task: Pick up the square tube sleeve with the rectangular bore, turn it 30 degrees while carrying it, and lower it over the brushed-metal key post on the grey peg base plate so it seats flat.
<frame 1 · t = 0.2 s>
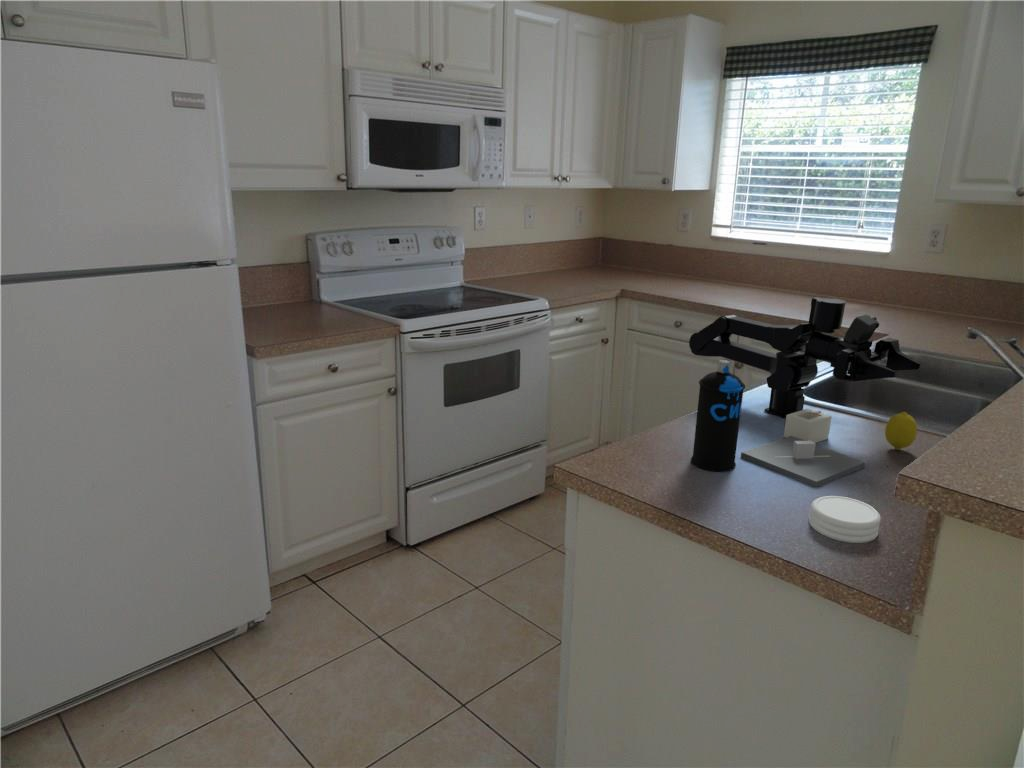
hand: (907, 370, 142), 16 cm above the worktop, tool horizontal, fingers open, 9 cm apart
white round flat disc: (842, 529, 114), on the worktop
lemon: (897, 450, 146), on the worktop
square tube sleeve: (805, 438, 151), on the worktop
grey peg base plate: (801, 461, 139), on the worktop
aerosol can: (712, 464, 138), on the worktop
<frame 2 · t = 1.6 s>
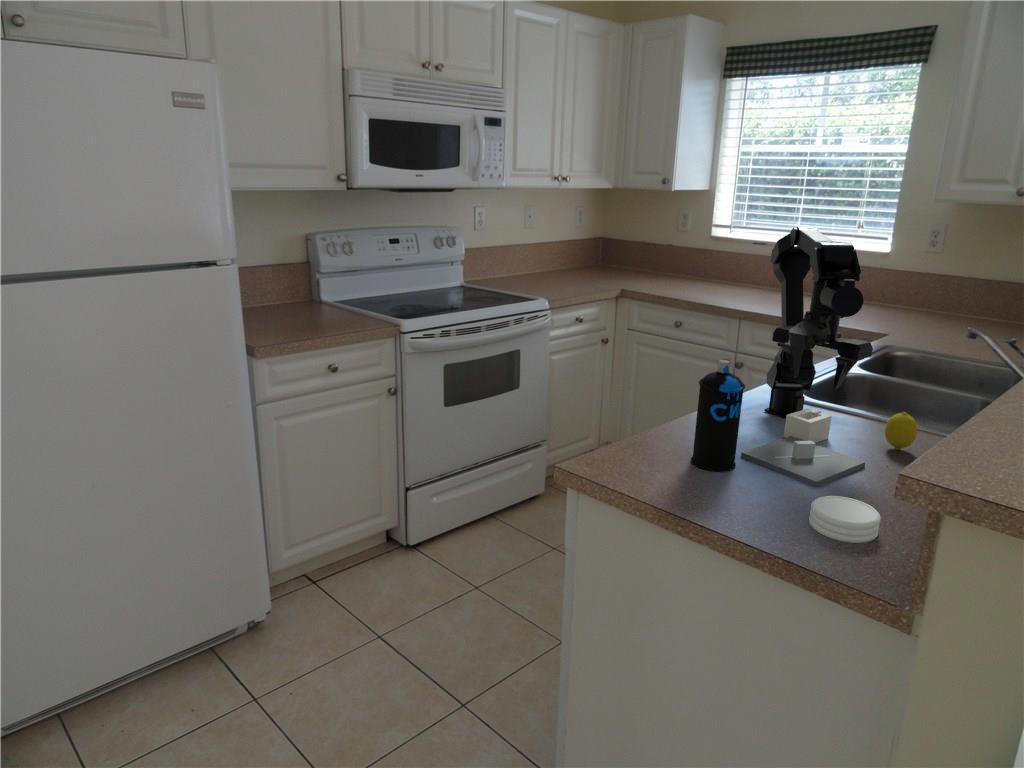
hand: (814, 383, 148), 12 cm above the worktop, tool pointing down, fingers open, 9 cm apart
nothing on the worktop moved.
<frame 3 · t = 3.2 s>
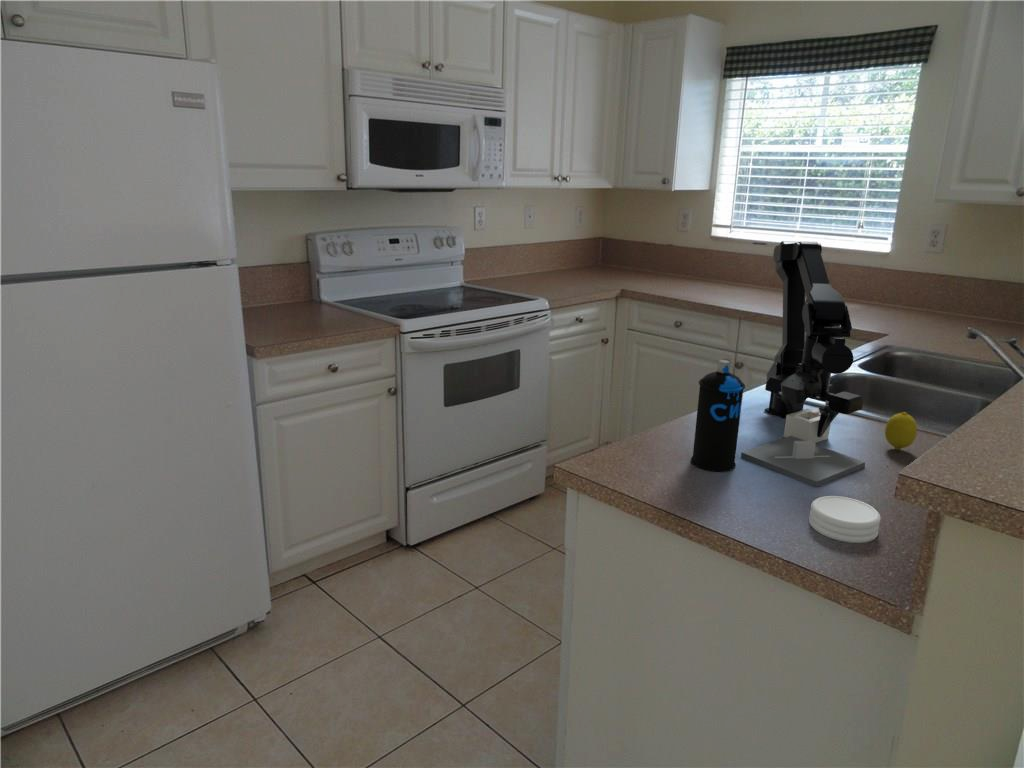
hand: (806, 432, 151), 1 cm above the worktop, tool pointing down, fingers closed on square tube sleeve, 5 cm apart
square tube sleeve: (805, 438, 151), on the worktop, touching gripper
everything else where it was.
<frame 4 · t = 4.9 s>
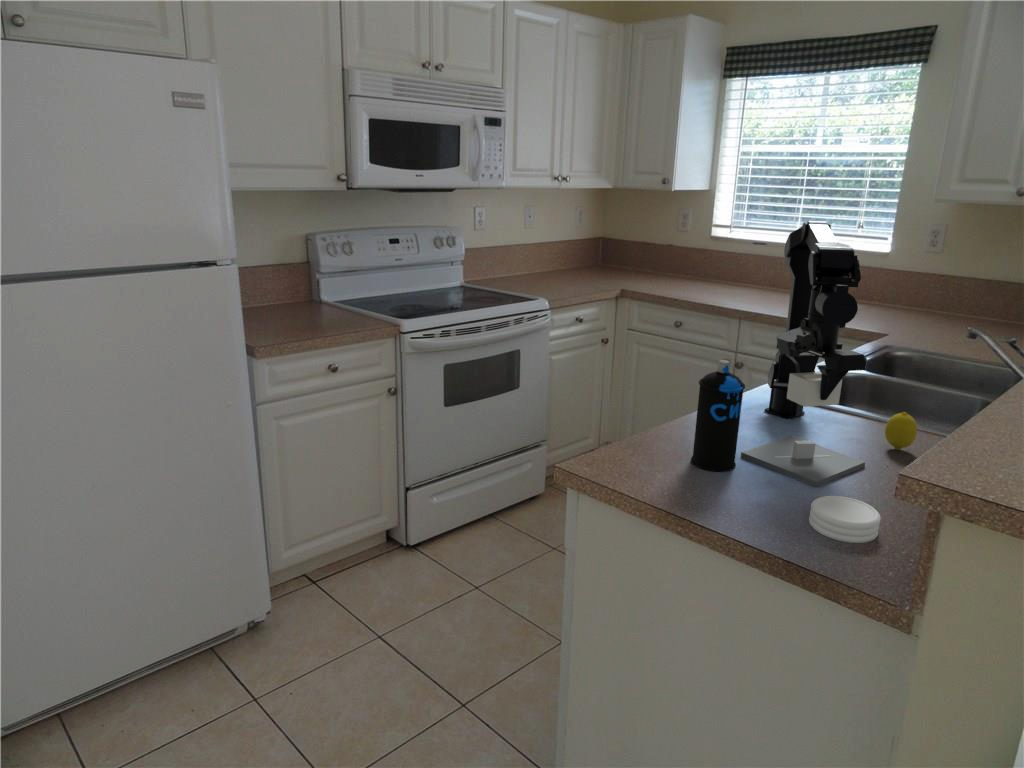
hand: (813, 395, 139), 12 cm above the worktop, tool pointing down, fingers closed on square tube sleeve, 5 cm apart
square tube sleeve: (812, 401, 140), point 11 cm above the worktop, touching gripper
everything else where it was.
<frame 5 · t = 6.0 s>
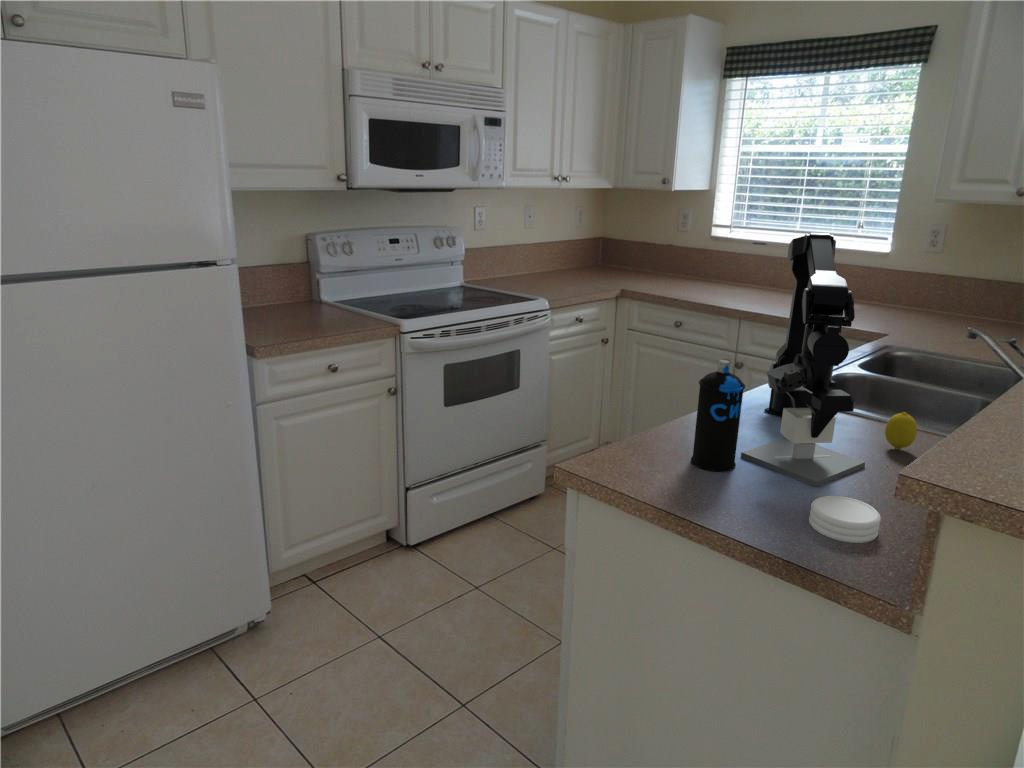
hand: (806, 431, 137), 6 cm above the worktop, tool pointing down, fingers closed on square tube sleeve, 5 cm apart
square tube sleeve: (805, 437, 138), point 5 cm above the worktop, touching gripper
everything else where it was.
when the fingers open (4 cm above the worktop, at t = 6.8 s): square tube sleeve drops 2 cm, resting on grey peg base plate.
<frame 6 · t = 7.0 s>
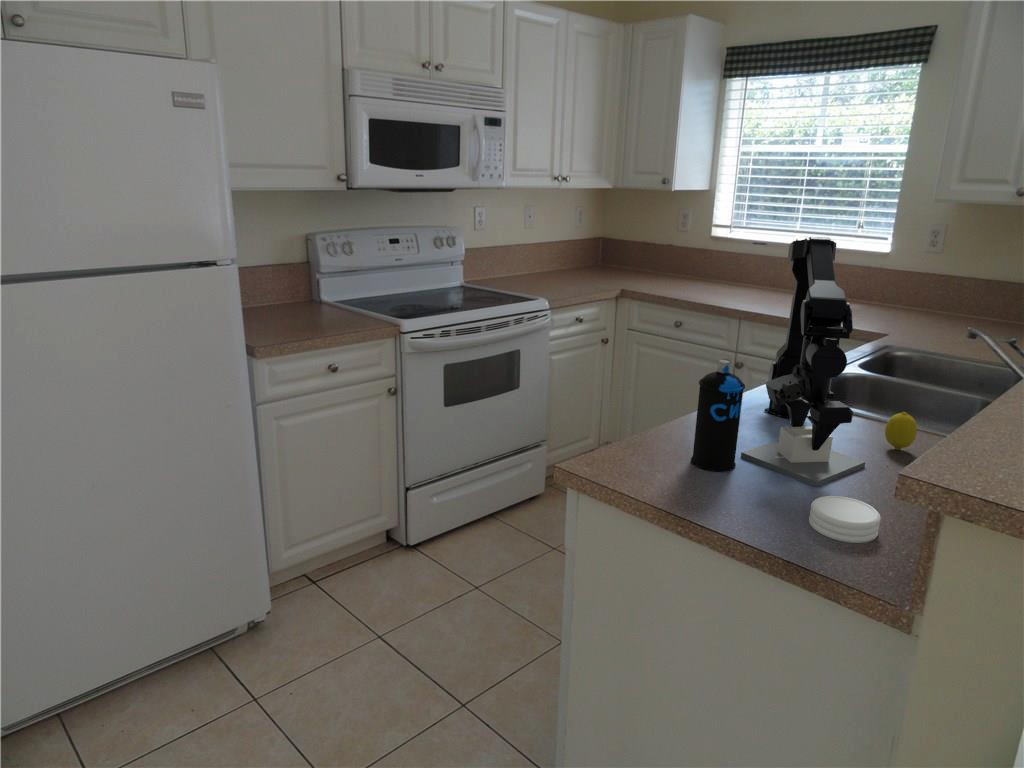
hand: (804, 442, 138), 4 cm above the worktop, tool pointing down, fingers open, 7 cm apart
square tube sleeve: (802, 456, 139), point 1 cm above the worktop, touching grey peg base plate
everything else where it was.
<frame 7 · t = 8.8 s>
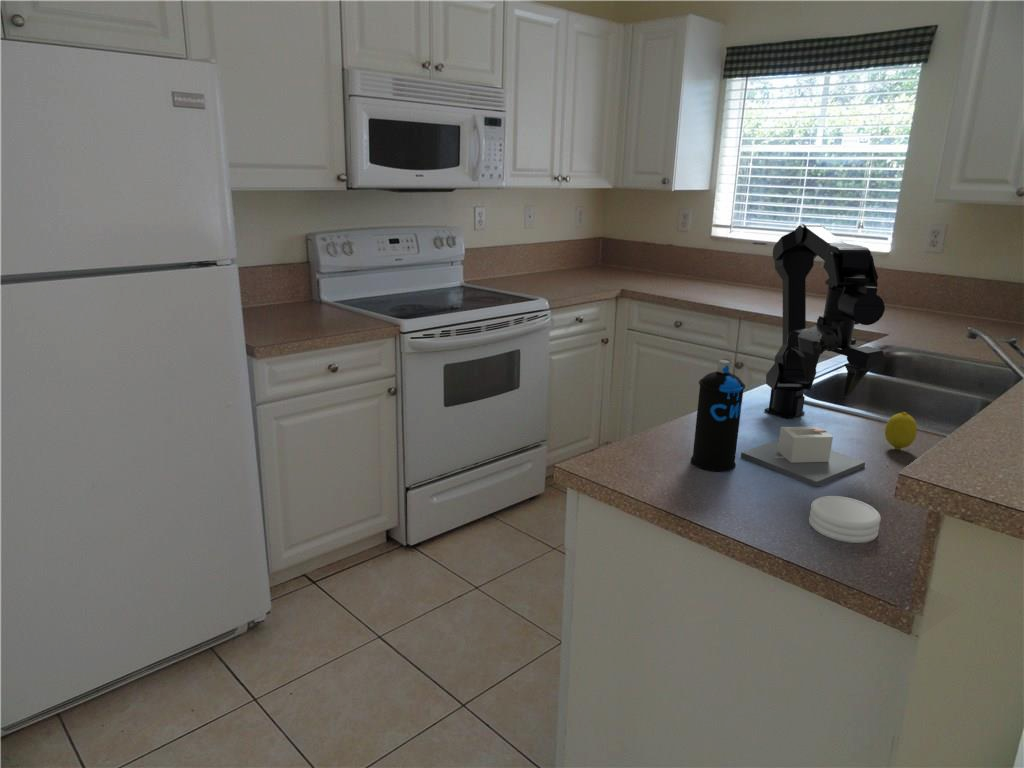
hand: (827, 388, 146), 12 cm above the worktop, tool pointing down, fingers open, 9 cm apart
nothing on the worktop moved.
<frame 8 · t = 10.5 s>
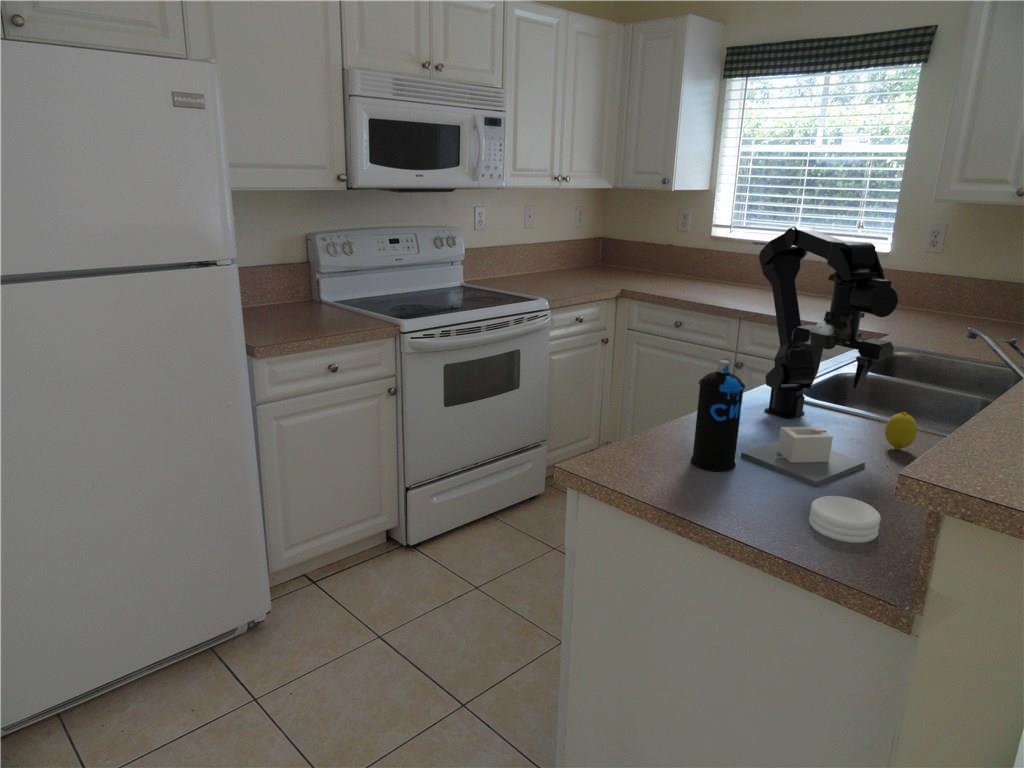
hand: (834, 382, 148), 12 cm above the worktop, tool pointing down, fingers open, 9 cm apart
nothing on the worktop moved.
at the end: square tube sleeve 0.0 cm off-centre on the grey peg base plate, point 1.1 cm above the grey peg base plate's base; square tube sleeve tilted 0°; the gripper is holding nothing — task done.
